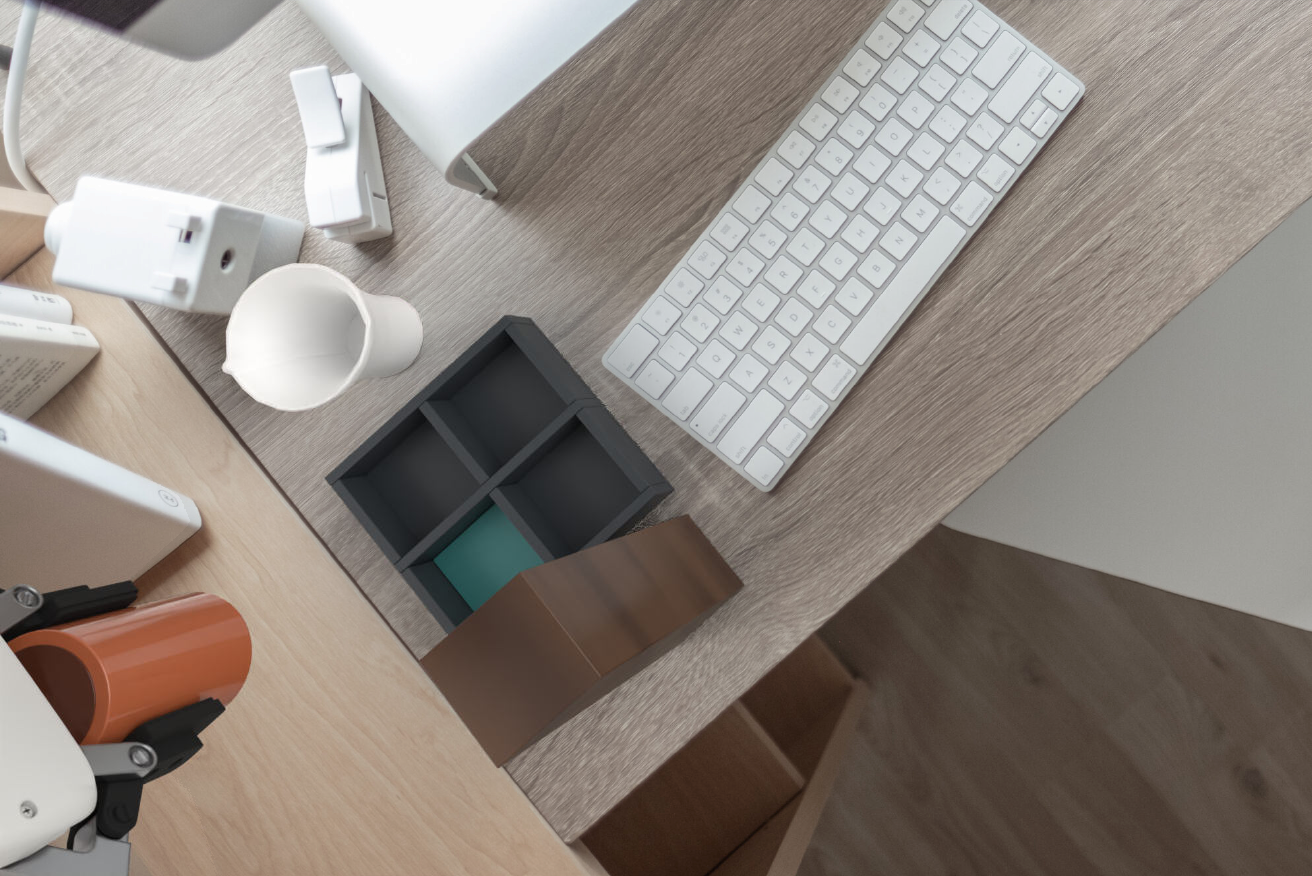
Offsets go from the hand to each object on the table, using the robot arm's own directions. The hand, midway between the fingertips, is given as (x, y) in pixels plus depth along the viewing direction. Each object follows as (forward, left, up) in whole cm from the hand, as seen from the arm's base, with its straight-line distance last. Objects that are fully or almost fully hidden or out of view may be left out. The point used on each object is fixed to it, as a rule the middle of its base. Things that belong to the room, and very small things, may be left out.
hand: (147, 670), depth 47 cm
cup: (+12, +12, -31) cm, 35 cm away
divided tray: (+5, +1, -30) cm, 31 cm away
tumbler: (0, 0, -2) cm, 2 cm away
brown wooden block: (+1, -12, -30) cm, 33 cm away
